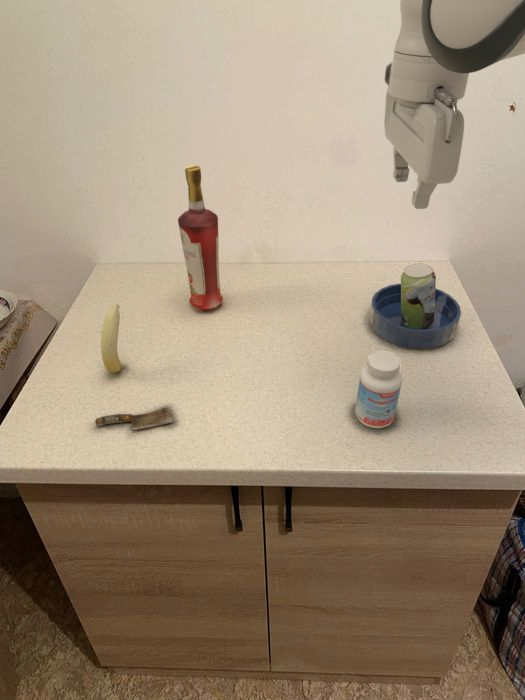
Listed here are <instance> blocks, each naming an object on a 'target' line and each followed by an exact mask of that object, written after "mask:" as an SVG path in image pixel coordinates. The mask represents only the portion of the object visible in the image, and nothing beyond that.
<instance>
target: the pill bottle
mask: <svg viewBox="0 0 525 700" xmlns="http://www.w3.org/2000/svg"><path fill="white" fill-rule="evenodd" d="M401 364H402V362H401V359H400V357H399V356H398V355H397V354H395V353H394V352H391V351H389V350H376V351H373V352H371V353H370V354H369V355H368V357H367V361H366V365H365V366H364V367H363V368H362V370H361V372H360V375H359V382H358V387H357V388H358V389H357V395H356V400H355V407H354V408H355V409H354V413H355V416H356V418H357V419H358V421H359V422H360V423H361V424H363V425H364V426H366V427H367V428H371V429H383V428H386V427H389V426H390V425H392V423H393V422H394V420H395V416H396V413H397V408H398V407H397V406H398V402H399V398H400V394H401V388H402V383H403V376H402V374H401V373H402V372H400V370H401Z"/></svg>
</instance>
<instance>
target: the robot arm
mask: <svg viewBox="0 0 525 700" xmlns="http://www.w3.org/2000/svg"><path fill="white" fill-rule="evenodd" d="M399 10H400V18H401V19H400V29H399V33H398V36H397V38H396V42H395V45H394V50H393V57H392V61H390V62H389V63H387V65H386V67H385V70H384V77H383V78H384V83H385V84H386V85H387V88H386V94H385V103H384V104H385V106H384V120H383V122H384V124H383V125H384V135H385V139H387V140H388V142H389V143H390V144H391V145H392V146H393V151H392V153H393V154H392V155H393V156H392V157H393V166H394V167H393V171H392V174H393V175H392V178H393V180H395V182H397V183H406V182H407V181H409V174H410V169H412V171H413V172H414V173H415V174H416V176H417V178H416V182H417V186H416V188H415V190H413V191H412V198H411V204H412V206H413V207H414V209H416V210H425V209H428V207H429V205H430V199H431V196H432V194H433V192H434V191H435V189H436V188H437V186H438V185H443V184H450V183H452V182H454V179H455V178H456V176H457V173H458V169H459V166H460V165H459V164H460V159H461V154H462V146H463V140H464V134H465V133H464V131H465V118H464V114H463V112H461V110H459V109H458V106H457V104H458V101H460V100H462V99H463V98H464V97H465V94H466V90H467V84H468V80H469V76H470V74H472V73H476V72H479V71H482V70H484V69H486V68H488V67H490V66H492V65H495V64H496V63H498V62H502V61H505V60H508V59H511V58H516V57H518V56H521V55H524V54H525V0H400V3H399ZM409 167H410V168H409Z"/></svg>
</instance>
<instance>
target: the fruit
mask: <svg viewBox="0 0 525 700" xmlns="http://www.w3.org/2000/svg"><path fill="white" fill-rule="evenodd" d="M120 317H121V315H120V305H119V304H118V303H115V304H114V305H111V306H110V307H109V308H108V310H107V311H106V314H105V317H104V319H103V324H102V329H101V335H100V353H101V354H100V355H101V360H102V363H103V366H104V369H106V371H108V372H109V373H114V374H115V373H118V372H120V371H121V370H122V361H121V359H120V357H119V353H118V338H119V329H120V321H121V320H120V319H121V318H120Z"/></svg>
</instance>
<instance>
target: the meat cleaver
mask: <svg viewBox="0 0 525 700" xmlns="http://www.w3.org/2000/svg"><path fill="white" fill-rule="evenodd" d="M94 422H95V426H97V427H101V426H105V425H108V424H116V423H117V424H119V423H131V427H132V431H136V430H142V429H147V428H152V427H157V426H162V425H167V424H171V423H173V422H174V419H173V417H172V415H171V412H170V411H169V408H168V407H167V406H164V407H162V408H159V409H157V410H154V411H151V412H147V413H142V414H131V413H129V414H128V413H117V414H110V415H105V416H100V417H97V418H95V421H94Z"/></svg>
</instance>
